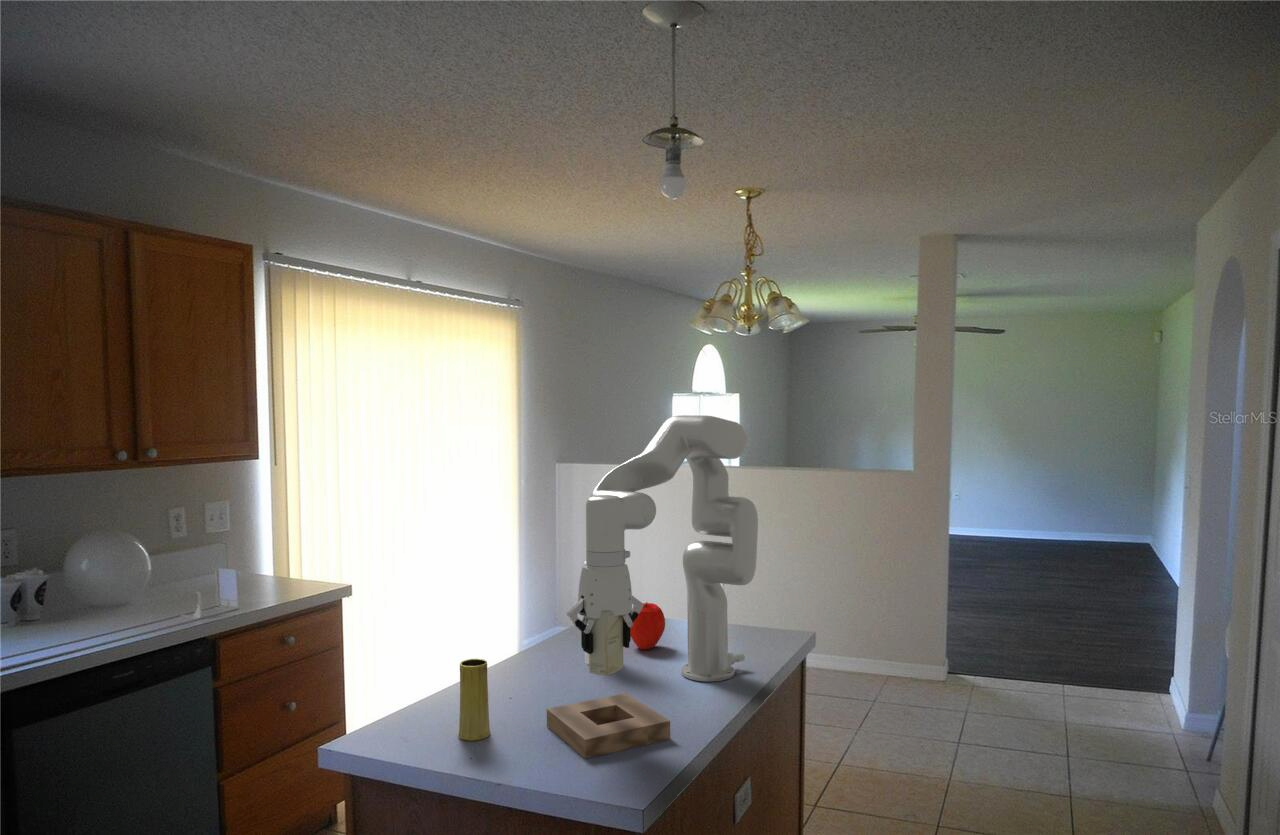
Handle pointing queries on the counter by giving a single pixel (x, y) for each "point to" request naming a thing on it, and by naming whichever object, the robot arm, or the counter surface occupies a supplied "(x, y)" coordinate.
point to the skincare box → (607, 645)
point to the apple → (648, 626)
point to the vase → (473, 700)
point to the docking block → (607, 725)
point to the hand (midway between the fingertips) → (606, 648)
